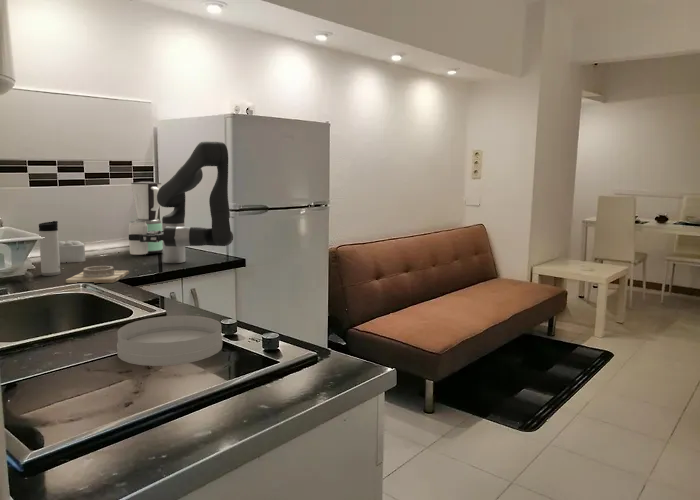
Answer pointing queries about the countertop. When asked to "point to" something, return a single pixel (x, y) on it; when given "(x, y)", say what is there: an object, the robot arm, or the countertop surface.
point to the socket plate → (97, 279)
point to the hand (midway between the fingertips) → (131, 236)
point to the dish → (169, 340)
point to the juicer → (148, 209)
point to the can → (138, 246)
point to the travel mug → (49, 248)
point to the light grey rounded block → (71, 251)
